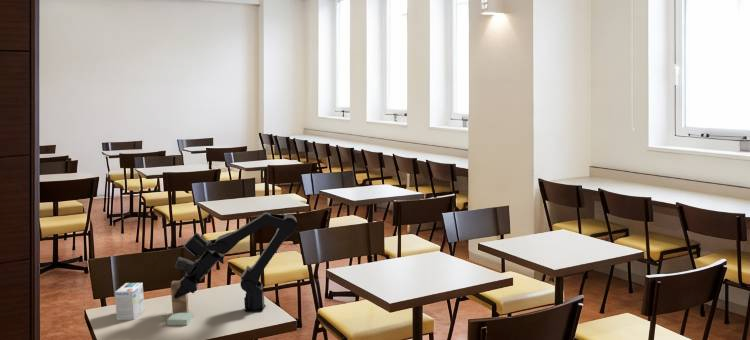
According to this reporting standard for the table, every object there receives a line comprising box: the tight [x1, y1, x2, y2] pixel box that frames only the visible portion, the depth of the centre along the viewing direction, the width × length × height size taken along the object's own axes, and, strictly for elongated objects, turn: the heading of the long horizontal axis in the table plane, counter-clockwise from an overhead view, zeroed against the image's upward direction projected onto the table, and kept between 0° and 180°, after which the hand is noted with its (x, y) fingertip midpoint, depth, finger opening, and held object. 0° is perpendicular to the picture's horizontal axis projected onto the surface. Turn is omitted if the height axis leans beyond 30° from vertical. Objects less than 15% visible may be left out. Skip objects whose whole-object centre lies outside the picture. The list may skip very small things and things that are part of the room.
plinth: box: [166, 312, 194, 326], centre depth 245 cm, size 7×7×2 cm
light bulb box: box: [114, 282, 145, 321], centre depth 253 cm, size 11×7×11 cm, turn 178°
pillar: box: [170, 279, 190, 314], centre depth 252 cm, size 5×5×12 cm
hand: (175, 295), depth 252 cm, fingers closed on pillar, 5 cm apart
